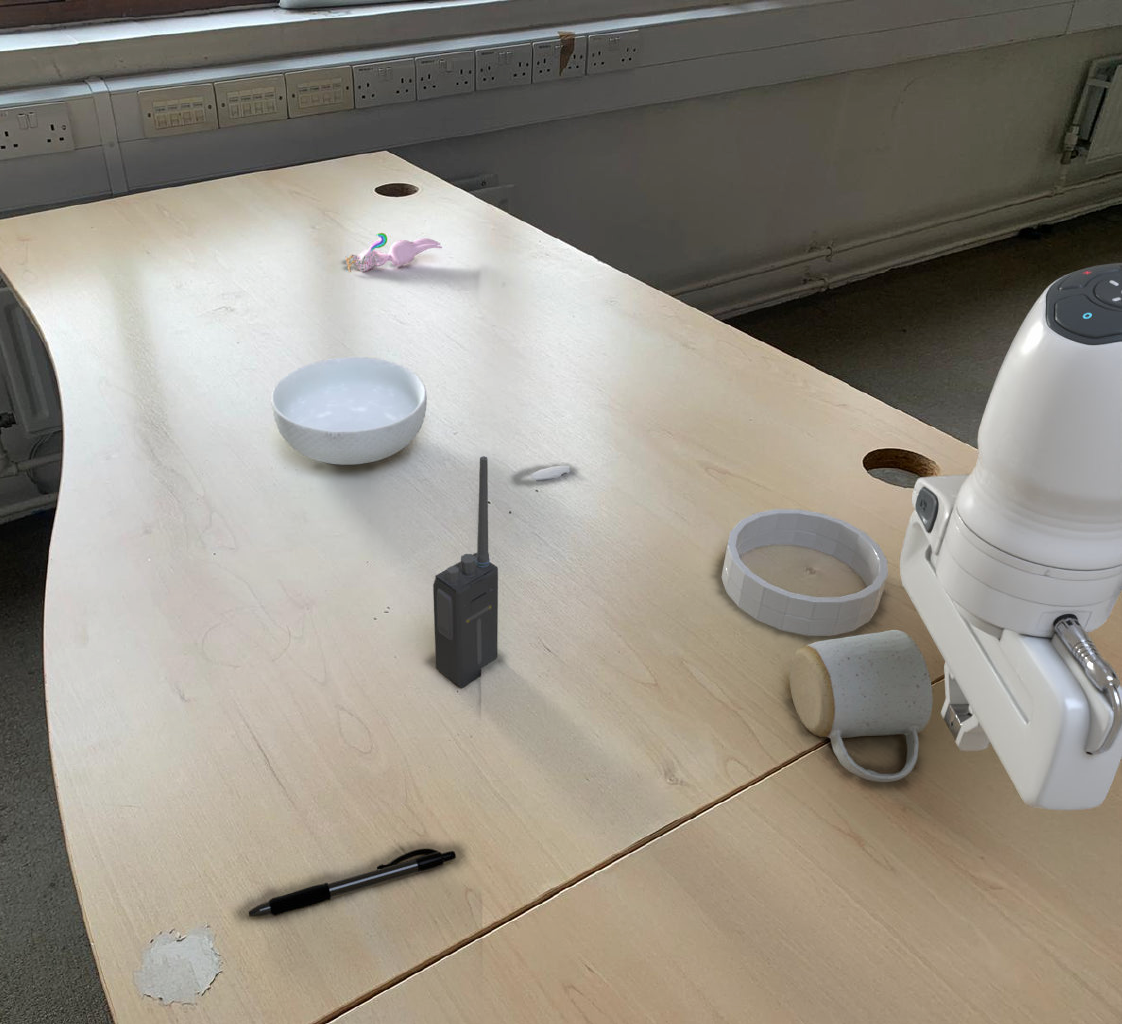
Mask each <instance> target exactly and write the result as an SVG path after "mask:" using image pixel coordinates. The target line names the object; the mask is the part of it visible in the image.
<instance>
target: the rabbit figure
mask: <svg viewBox="0 0 1122 1024" xmlns="http://www.w3.org/2000/svg"><path fill="white" fill-rule="evenodd" d="M376 236H377V237H378V238H379V239H377V240H376V241H374V242H373V243H372V244H371V245H370V247H369V248H368V249H364V250H363V251H361V252H360V253H359V254H357V255H355V254H351V255H350V256H349V257H348V256H347V255H345V256H344V257H345V262H346V264H347V269H348V271H349V274H351V273H352V271H351V270H352V269H351V267H352V265H355V267H356V269H357V270H358V271H359V272H361V273H364V272H365V273H366V272H367V271H369V270H371V269H373V268H375V266H376V267H381V266H383V265H385V264H386V263H387V262H388V261H390V262H391V265H393V266H396V268H400V267H403V266H404V265H406V264H409V263H412V261H413V260H414V258H415V256H418V255H419V254H421V253H423V252H424V251H427V250H429V249H430V250H431V249H442V248H443V247H442V246H441V243H440V242H439V241H436V240H434V239H432V238H419V239H415V240H413V241H409V240H408V239H407V240H406V239H399V240H397V241H395V242H394V243H392V244H391V246H390V247H389V252H388V253H385V252H383V251H381V250H377V249H380V248H383V247H384V246H386V245H387V243H388V236H387V234H386V233H384V232H379V233H377V234H376ZM351 259H353V260H352V261H351V262H350V260H351Z"/></svg>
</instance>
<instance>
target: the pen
mask: <svg viewBox="0 0 1122 1024" xmlns="http://www.w3.org/2000/svg"><path fill="white" fill-rule="evenodd" d="M456 858H457V855H456V852H455V851H454V850H450V851H445V852H441V851H438V850H436V849H433V848H428V847H427V848H418V849H415V850H414V849H413V850H411V851H408V852H406V853H404V854H402V855H399V856H397V857H396V858H394V859H392V860H391V861H390V862H387V863H386V864H383V863H382V864H379V865H378V866H376V869H375V870H371V871H367V872H364V873H361V874H357V875H354V876H350V877H347V878H343V879H340V880H336V881H333V882H329V883H328V882H324V883H321V884H316V885H312V886H309V887H305V888H302V889H299V890H296V891H293V892H289V893H286V894H283V895H280V896H279V895H278V896H276V897H272V898H270V899H269V900H268V901H266V902H263V903H261V904H257V905H256V906H254V907H253V908H251V909H250V910H248V917H250V918H263V917H267V916H279V915H281V914H286V913H289V912H292V911H296V910H300V909H304V908H307V907H312V906H315V905H318V904H320V903H323V902H326V901H330V900H332V899H333V898H335V897H339V896H342V895H346V894H349V893H352V892H356V891H359V890H363V889H366V888H369V887H373V886H376V885H381V884H384V883H386V882H390V881H393V880H398V879H401V878H405V877H408V876H410V875H415V874H418V873H423V872H426V871H430V870H434V869H437V868H439V867H442V866H444V864H445V863H448V862H451V861H453V860H455V859H456ZM409 859H410V860H409Z"/></svg>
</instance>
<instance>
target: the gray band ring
mask: <svg viewBox="0 0 1122 1024" xmlns="http://www.w3.org/2000/svg"><path fill="white" fill-rule="evenodd" d="M767 546H796V547H801V548H806V549H812V550H815V551H818V552H820V553H823V554H826V555H829V556H832V557H834V558H835V559H837V560H838V561H840V562H842V563H843V564H845V565H847V566H849V567H850V568H851V569H852V570H853V571H854V572H855V573H856V574H857V575H858V576H859V577H860V578H861V579H862V581H863V583H864V584H865V588H863V589H862V590H860V591H858V592H854V593H850V594H846V595H840V596H812V595H807V594H802V593H797V592H792V591H789V590H787V589H784V588H781V587H779V586H776V585H774V584H772V583H770V582H768V581H767V580H764V579H763V578H761V577H760V576H759V575H757V574H756V573H754V572H753V571H751V569H749V567H748V566H747V565H746V564H745V562H743V560H742V559H741V558H740V557H741V556H742V555H744V554H746V553H748V552H750V551H752V550H754V549H758V548H763V547H767ZM725 550H726V551H725V555H724V562H723V566H722V572H721V580H722V583H723V586H724V590H725V592H726V594H727V595H728V596H729V598H730V599H731V600H732V601H733V602H734V604H735V605H736V606H737V607H738V608H739V609H741V611H743V612H744V613H746V614H748V615H749V616H751V617H752V618H753V619H754V620H756V621H758V622H761V623H763V624H765V625H768V626H769V627H773V628H775V629H776V630H780V631H784V632H788V633H793V634H797V635H803V636H815V637H817V636H822V637H826V636H827V637H829V636H831V637H832V636H837V635H840V634H847V633H850V632H854V631H856V630H857V629H859V628H861V627H863V626H864V625H866V624H868V623H869V622H870V621H871V620H872V618H873V616H874V615H875V613H876V611H877V610H878V608H879V605H880V601H881V598H882V595H883V592H884V589H885V586H886V583H887V580H888V576H889V562H888V558H887V556H886V555H885V553H884V551H883V550H882V548H881V546H880V544H878V542H876V541H875V540H874V539H873V538H872V537H871V536H870V535H869V534H868V533H867V532H865V531H863V530H861V529H860V528H858V527H856V526H855V525H853V524H851V523H849V522H847V521H845V520H843V519H841V518H838V517H834V516H831V515H828V514H826V513H822V512H818V511H812V510H806V509H800V508H775V509H769V510H764V511H758V512H755V513H752V514H751V515H749V516H747V517H744V518H742V519H741V520H739V521H738V522H737V524H736V525H735V526H734V527H733V528H732V529H731V530H730V532H729V536H728V541H727V546H726V549H725Z"/></svg>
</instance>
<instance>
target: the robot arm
mask: <svg viewBox="0 0 1122 1024" xmlns="http://www.w3.org/2000/svg"><path fill="white" fill-rule="evenodd" d="M911 504H912V507H913V509H914V510H912V513H911V514H910V517H909V520H908V524H907V527H906V531H905V535H904V538H903V543H902V548H901V553H900V556H899V557H900V558H899V574H900V580H901V585H902V587H903V589H904V590H905V592H906V593H907V595H908V597H909V599H910V601H911V602H912V604H913V606H914V608H915V609H916V611H917V613H918V615H919V617H920V619H921V621H922V622H923V624H924V626H925V628H926V630H927V631H928V632H929V635H930V636H931V638H932V640H933V642H934V643H935V646H936V647H937V649H938V651H939V652H940V654H941V656H942V658H943V660H944V661H945V662H944V665H943V673H944V691H945V692H944V693H945V699H944V703H943V704H942V708H941V711H940V715H941V718H943V720H944V722H945V724H946V726H947V727H948V729H949V731H950V733H951V734H950V735H952V738H953V739H954V741H955V744H956V746H957V748H958V750H960V751H961V752H982V751H984V750H986V749H988V747H989V745H990V744H991V746H992V748H993V750H994V751H995V753H996V755H997V758H998V759H999V760H1000V762H1001V764H1002V766H1003V768H1004V769H1005V772H1006V773H1007V775H1008V777H1009V779H1010V780H1011V782H1012V784H1013V786H1014V787H1015V789H1016V791H1017V793H1018V795H1019V797H1020V798H1021V800H1022V801H1023V803H1024V804H1025V805H1026V806H1028V807H1029V808H1034V809H1039V810H1047V811H1048V810H1049V811H1082V810H1090V809H1094V808H1097V807H1099V806H1101V805H1102V804H1103V802H1104V801H1105V800H1106V798H1107V796H1108V793H1109V791H1110V789H1111V787H1112V784H1113V782H1114V779H1115V777H1116V775H1117V772H1118V769H1119V766H1120V764H1121V760H1122V686H1121V681H1120V678H1119V675H1118V673H1117V671H1116V670H1115V668H1113V666H1112V665H1111V663H1109V661H1107V660H1106V659H1104V658H1103V656H1102V654H1101V653H1100V652H1099V650H1098V648H1097V646H1096V644H1095V642H1094V641H1093V639H1092V637H1091V636H1090V635H1089V634H1088V633H1091V632H1094V631H1096V630H1097V629H1098V628H1100V627H1101V626H1103V625H1104V624H1105V623H1106V622H1107V621H1108V619H1109V618H1110V616H1111V613H1112V611H1113V609H1114V607H1115V605H1116V602H1117V600H1118V599H1119V596H1120V594H1121V592H1122V262H1115V263H1107V264H1099V265H1093V266H1089V267H1085V268H1081V269H1079V270H1076V271H1072V272H1070V273H1068V274H1065V275H1062V276H1061V277H1059V278H1058V279H1056V280H1054V281H1053V282H1052V283H1050V284H1049V285H1048V286H1047V287H1046V288H1045V289H1044V291H1043V292H1042V293H1041V294H1040V296H1039V297H1038V298H1037V299H1036V301H1035V303H1034V304H1033V306H1032V307H1031V308H1030V310H1029V311H1028V312H1027V314H1026V317H1025V318H1024V320H1023V321H1022V322H1021V325H1020V326H1019V329H1018V330H1017V332H1016V334H1015V336H1014V338H1013V340H1012V341H1011V344H1010V346H1009V348H1008V351H1007V352H1006V354H1005V356H1004V359H1003V361H1002V363H1001V366H1000V368H999V371H998V373H997V375H996V378H995V381H994V383H993V385H992V389H991V391H990V394H989V397H988V400H987V401H986V406H985V409H984V412H983V414H982V419H981V420H980V424H979V428H978V432H977V459H976V463H975V466H974V468H973V469H972V471H971V473H970V474H947V475H946V474H945V475H932V476H931V475H930V476H923V477H922V476H921V477H919V478H917V480H916V482H915V484H914V487H913V490H912V495H911Z"/></svg>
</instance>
